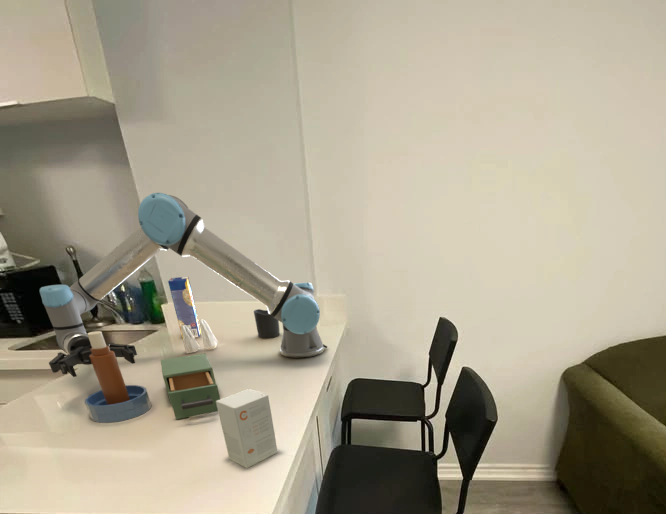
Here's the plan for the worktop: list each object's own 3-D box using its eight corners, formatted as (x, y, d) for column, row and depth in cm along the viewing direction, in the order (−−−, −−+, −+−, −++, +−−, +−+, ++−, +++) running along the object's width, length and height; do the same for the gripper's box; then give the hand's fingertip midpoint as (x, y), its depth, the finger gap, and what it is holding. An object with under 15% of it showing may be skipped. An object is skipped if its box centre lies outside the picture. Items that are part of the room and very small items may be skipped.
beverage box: (200, 331, 187) (188, 276, 176) (199, 336, 178) (186, 280, 167) (184, 332, 186) (170, 278, 174) (182, 338, 176) (168, 281, 165)
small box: (259, 444, 93) (249, 387, 86) (278, 452, 89) (269, 394, 83) (228, 459, 88) (214, 400, 81) (247, 469, 84) (234, 408, 78)
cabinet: (218, 397, 118) (212, 367, 114) (171, 405, 114) (162, 375, 110) (211, 380, 130) (205, 353, 126) (168, 387, 126) (160, 359, 122)
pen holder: (270, 339, 170) (266, 313, 165) (252, 337, 174) (248, 311, 169) (285, 334, 177) (282, 308, 171) (268, 331, 181) (264, 307, 176)
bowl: (162, 402, 116) (157, 385, 114) (131, 425, 104) (124, 406, 102) (114, 401, 118) (108, 384, 116) (79, 424, 106) (71, 405, 103)
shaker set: (218, 346, 164) (212, 316, 158) (219, 349, 160) (213, 319, 154) (185, 351, 160) (178, 320, 154) (186, 354, 157) (178, 323, 151)
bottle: (137, 406, 113) (111, 329, 102) (125, 415, 108) (97, 335, 98) (118, 406, 113) (91, 329, 103) (105, 414, 109) (76, 335, 99)
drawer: (225, 416, 105) (219, 390, 101) (177, 426, 101) (169, 399, 97) (214, 392, 119) (209, 368, 116) (172, 399, 115) (165, 375, 112)
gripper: (133, 352, 129) (158, 367, 115) (36, 372, 115) (52, 392, 101) (125, 326, 125) (150, 339, 111) (24, 344, 111) (38, 361, 97)
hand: (103, 364), depth 106 cm, fingers open, 13 cm apart
